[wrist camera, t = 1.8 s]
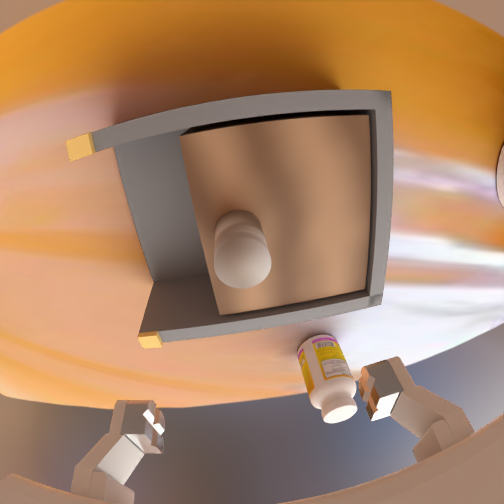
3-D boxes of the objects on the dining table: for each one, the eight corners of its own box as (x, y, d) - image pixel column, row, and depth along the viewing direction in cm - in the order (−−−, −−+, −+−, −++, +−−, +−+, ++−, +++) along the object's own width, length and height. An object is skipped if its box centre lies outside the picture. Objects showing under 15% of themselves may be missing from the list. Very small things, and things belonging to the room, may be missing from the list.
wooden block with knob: (332, 110, 26) (404, 122, 15) (338, 249, 34) (386, 322, 23) (190, 127, 26) (165, 146, 15) (219, 269, 34) (220, 355, 22)
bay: (342, 90, 26) (394, 90, 17) (347, 256, 36) (383, 308, 27) (113, 126, 26) (65, 141, 17) (159, 287, 36) (143, 348, 27)
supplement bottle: (310, 366, 46) (330, 431, 35) (288, 349, 43) (305, 419, 32) (344, 345, 45) (371, 409, 33) (324, 325, 42) (352, 395, 31)
